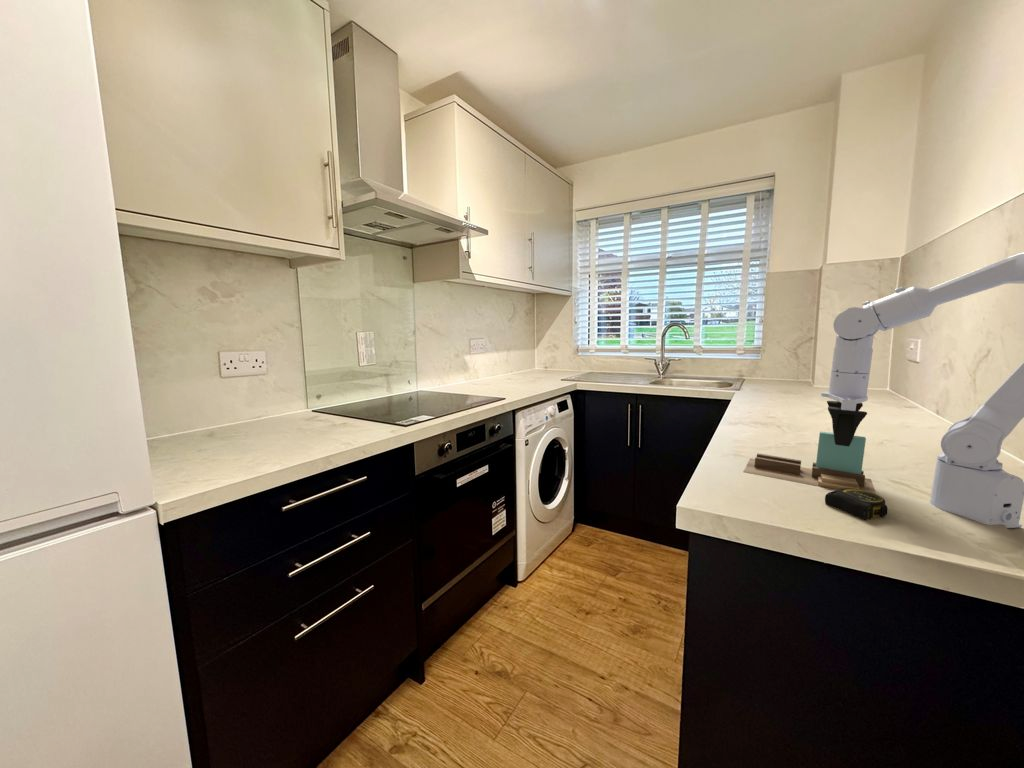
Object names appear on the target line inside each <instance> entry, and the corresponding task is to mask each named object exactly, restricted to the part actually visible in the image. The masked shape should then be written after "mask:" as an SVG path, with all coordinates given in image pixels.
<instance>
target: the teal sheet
mask: <svg viewBox="0 0 1024 768" xmlns="http://www.w3.org/2000/svg"><path fill="white" fill-rule="evenodd" d="M866 440H867V438H866V436H859V435H854V437H853V440H852V442H851V444H850V446H841V445H835V440H834V433H833V432H830V431H829V432H828V431H827V432H826V431H821V430H820V431H819V436H818V444H817V452H816V453H817V454H816V460H815V461H816V462H815V463H816V467H819V468H825V469H831V470H837V471H843V472H849V473H855V474H861V472H862V470H863V465H864V463H863V462H864V456H865V447H866Z"/></svg>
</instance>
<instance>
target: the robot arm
mask: <svg viewBox="0 0 1024 768" xmlns="http://www.w3.org/2000/svg"><path fill="white" fill-rule="evenodd" d="M1005 284H1006V285H1008V284H1020V285H1021V284H1023V285H1024V251H1023V252H1021V253H1020V252H1019V253H1017V254H1014V255H1011V256H1009V257H1006V258H1003V259H1001V260H998V261H995V262H993V263H990V264H987V265H985V266H982V267H981V268H978V269H975V270H973V271H970V272H968V273H965V274H962V275H959V276H957V277H955V278H952V279H950V280H946V281H945V282H942V283H940V284H937V285H935V286H932V287H930V288H924V287H921V286H916V285H915V286H911V287H908V288H906V286H901V287H898V288H895V289H894V292H895V293H892V294H890V295H887V296H884V297H882V298H879V299H876V300H873V301H872V302H871V301H870V300H867V301H864V302H861V305H862V307H856V306H853V307H852V306H851V307H848V308H847V309H845V310H843V311H841V312H840V313H839V314H838V315H837V316H836V317H835V318H834V321H833V331H834V332H835V333H836V336H835V342H834V343H835V344H834V348H833V353H832V354H833V355H832V362H831V363H832V364H831V369H830V370H831V372H830V379H829V386H828V387H829V388H828V391H824V392H823V391H821V392H820V396H821V397H823V398H824V397H825V398H828V399H830V400H826V403H827V405H828V406H827V410H828V413H829V415H830V417H831V424H832V425H831V426H832V433H834V440H835V445H841V446H850V444H851V442H852V440H853V437H854V436H855V433H856V432H857V430H858V428H859V425H860V424H861V423H862V421H863V420H864V419H865V417H867V415H868V412H867V411H862V410H861V409H862V408H863V406H864V405H863V402H867V401H868V400H869V399H868V398H869V397H868V391H869V390H868V389H869V381H870V374H871V365H872V359H873V358H872V357H873V352H874V350H873V343H874V336H875V335H876V334H877V332H879V331H880V332H881V331H882V332H886V331H888V330H891V329H894V328H898V327H901V326H904V325H907V324H910V323H913V322H916V321H919V320H922V319H926V318H928V317H930V316H932V313H933V312H934V310H935V308H937V306H940V305H942V304H946V303H948V302H952V301H956V300H958V299H962V298H964V297H968V296H971V295H974V294H978V293H980V292H983V291H988V290H990V289H993V288H995V287H1000V286H1002V285H1005ZM1023 419H1024V360H1023V362H1021V363H1020V364H1019V365H1018V366H1017V368H1016V369H1015V370H1014V371H1013V372H1012V373H1011V374H1010V375H1009V376H1008V377H1006V379H1005V380H1004V381H1003V382H1002V383H1001V385H1000V386H999V387H998V388H996V390H995V391H994V392H993V393H991V395H990V396H989V397H988V398H987V399H986V400H984V402H983V403H982V404H981V405H980V406H979V407H978V408H977V409H976V410H975V411H974V412H973V413H972V414H971V415H970V416H969V417H966V418H965V419H961V420H958V421H956V422H955V423H953V424H952V425H951V426H950V427H949V428H948V430H947V432H945V434H943V436H942V437H941V440H940V447H941V451H942V452H941V453H938V454H937V455H936V456H937V457H936V463H935V468H934V474H933V479H932V486H931V487H932V488H931V493H930V499H929V504H930V505H932V506H933V507H935V508H937V509H939V510H941V511H945V512H948V513H951V514H955V515H957V516H962V517H964V518H967V519H969V520H973V521H976V522H978V523H980V524H984V525H986V526H998V525H1004V527H1005V528H1006V529H1013V528H1014V529H1015V528H1022V527H1023V524H1022V523H1020V519H1021V514H1022V509H1023V506H1024V505H1023V504H1024V480H1023V479H1022V478H1021V477H1020V476H1017V475H1014V474H1012V473H1009V472H1007V471H1006V470H1004V469H1003V465H1004V464H1003V463H1002V462H1000V461H999V460H998V457H999V456H1000V454H1001V450H1002V445H1003V442H1004V440H1006V438H1007V437H1008V436H1009V435H1010V434H1011V433H1012V432H1013V430H1015V428H1016V427H1017V426H1018V424H1019V423H1020V422H1021V421H1023Z"/></svg>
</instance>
